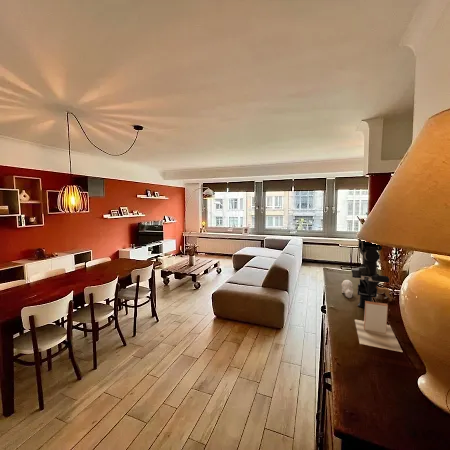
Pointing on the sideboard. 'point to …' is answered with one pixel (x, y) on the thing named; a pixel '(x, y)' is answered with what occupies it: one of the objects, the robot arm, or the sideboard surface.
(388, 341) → the board
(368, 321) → the tile
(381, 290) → the lion figurine
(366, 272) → the robot arm
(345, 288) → the white rounded lump
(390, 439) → the sideboard surface
